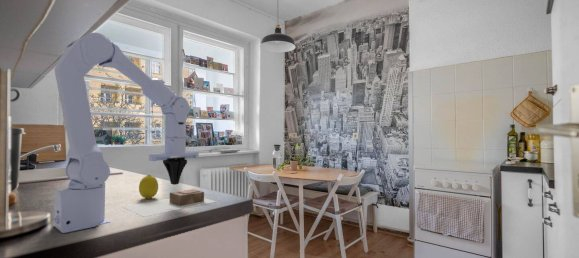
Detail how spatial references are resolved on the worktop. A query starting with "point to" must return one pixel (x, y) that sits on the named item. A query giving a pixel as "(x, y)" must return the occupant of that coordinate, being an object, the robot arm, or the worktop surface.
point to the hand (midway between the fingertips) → (174, 184)
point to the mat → (160, 207)
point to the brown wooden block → (186, 197)
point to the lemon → (148, 187)
